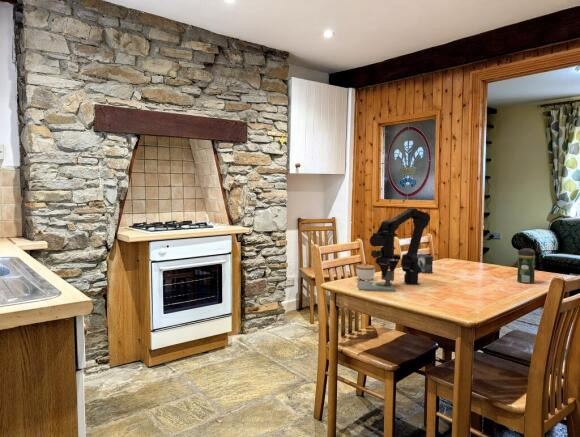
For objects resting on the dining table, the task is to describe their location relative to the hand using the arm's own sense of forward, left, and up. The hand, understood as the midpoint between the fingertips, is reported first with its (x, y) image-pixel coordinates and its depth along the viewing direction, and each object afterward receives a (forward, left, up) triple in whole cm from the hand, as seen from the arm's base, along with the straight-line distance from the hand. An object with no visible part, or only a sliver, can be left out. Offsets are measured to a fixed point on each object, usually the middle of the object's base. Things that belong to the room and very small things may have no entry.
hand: (387, 275), depth 214 cm
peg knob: (+3, -2, -5) cm, 6 cm away
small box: (-27, -46, -7) cm, 54 cm away
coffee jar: (-77, -22, -7) cm, 80 cm away
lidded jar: (+10, -18, -7) cm, 22 cm away
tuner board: (+6, 0, -6) cm, 9 cm away
